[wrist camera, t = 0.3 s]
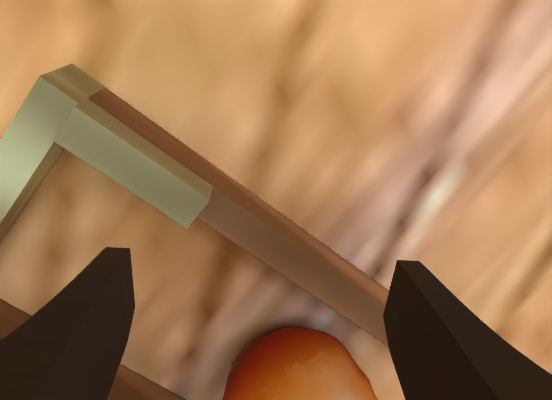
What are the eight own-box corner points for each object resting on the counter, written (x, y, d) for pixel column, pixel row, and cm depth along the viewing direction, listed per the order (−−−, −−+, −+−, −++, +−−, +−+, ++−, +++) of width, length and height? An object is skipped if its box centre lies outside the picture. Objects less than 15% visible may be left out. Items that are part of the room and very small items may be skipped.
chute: (275, 472, 31) (279, 536, 27) (-72, 290, 25) (-128, 341, 21) (435, 324, 27) (464, 375, 23) (72, 63, 21) (33, 78, 17)
